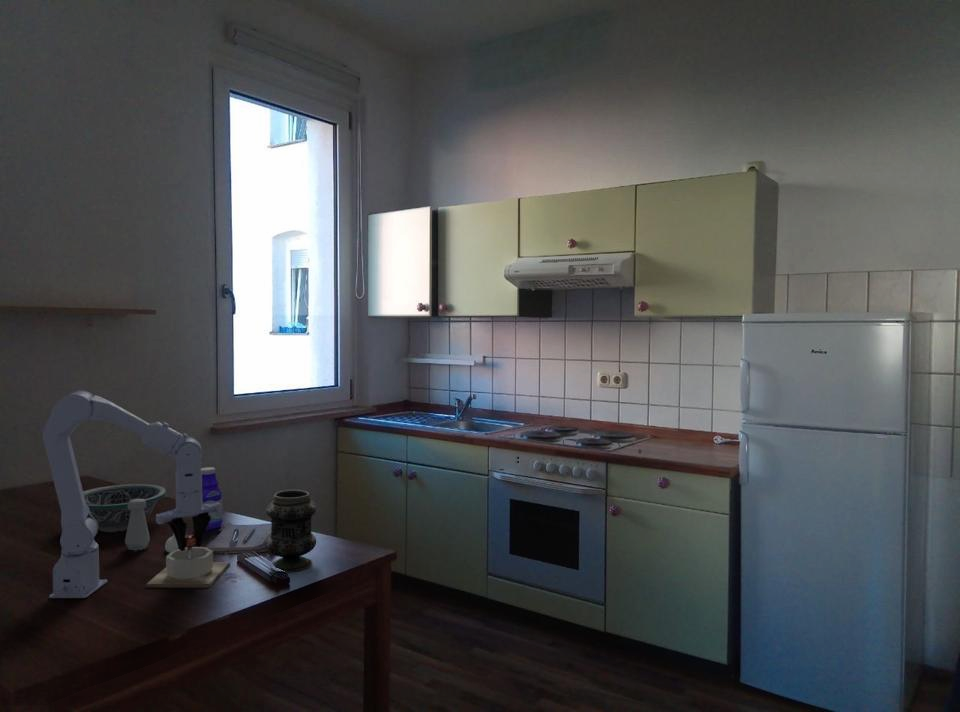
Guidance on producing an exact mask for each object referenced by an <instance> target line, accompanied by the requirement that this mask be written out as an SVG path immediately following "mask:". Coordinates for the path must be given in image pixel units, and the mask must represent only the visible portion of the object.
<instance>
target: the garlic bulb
mask: <svg viewBox="0 0 960 712" xmlns="http://www.w3.org/2000/svg"><path fill="white" fill-rule="evenodd" d="M172 533H173V532H172ZM164 548H165V551H166V552H167V553H168V554H170V553H171V552H172V551H175V550H179V549H178V544H177V541H176V538H175V535H174V533H173V534H172V536H170V537H168V539H167V540H166V542H165V544H164ZM185 548H187V547H185Z"/></svg>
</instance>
